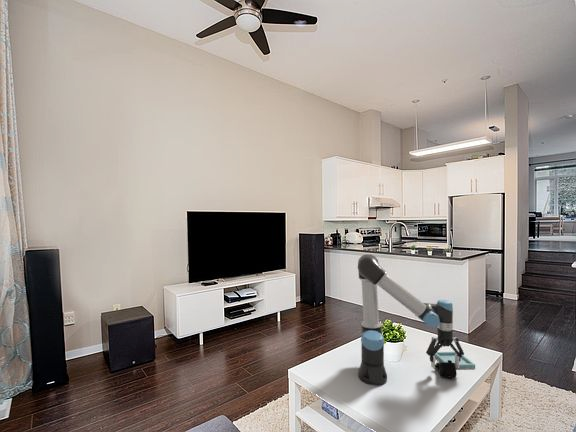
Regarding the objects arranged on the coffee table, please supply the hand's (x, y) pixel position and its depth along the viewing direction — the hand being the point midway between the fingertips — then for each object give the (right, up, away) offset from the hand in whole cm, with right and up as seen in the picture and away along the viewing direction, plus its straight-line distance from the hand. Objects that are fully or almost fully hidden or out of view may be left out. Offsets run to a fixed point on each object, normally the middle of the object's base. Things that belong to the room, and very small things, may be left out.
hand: (445, 367), depth 166 cm
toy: (0, -4, +1) cm, 4 cm away
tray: (+13, -4, +14) cm, 19 cm away
